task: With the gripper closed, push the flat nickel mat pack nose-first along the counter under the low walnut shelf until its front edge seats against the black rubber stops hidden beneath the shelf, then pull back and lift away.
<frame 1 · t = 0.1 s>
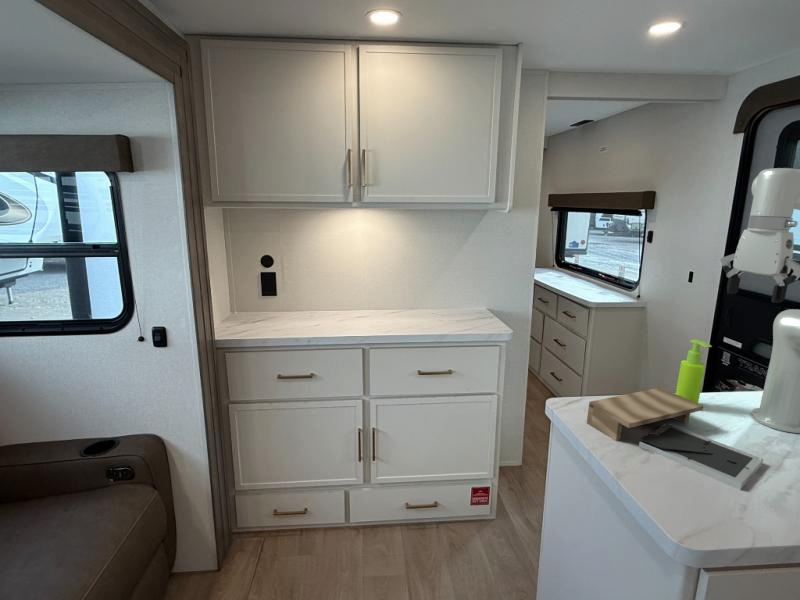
hand: (753, 297, 107), 37 cm above the counter, tool pointing down, fingers open, 9 cm apart
soap dispenser: (686, 406, 134), on the counter
walnut shelf: (643, 425, 121), on the counter
picture frame: (698, 458, 108), on the counter
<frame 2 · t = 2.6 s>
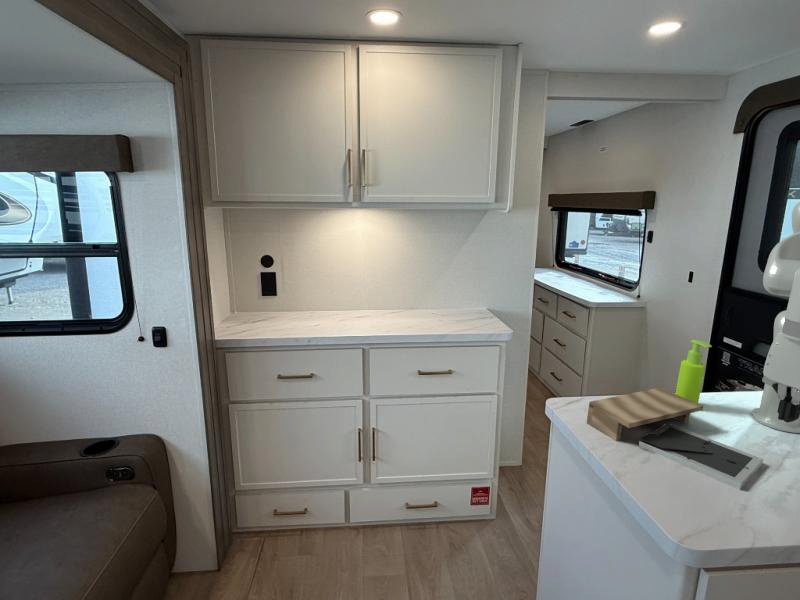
hand: (786, 419, 90), 17 cm above the counter, tool pointing down, fingers closed
nothing on the counter moved.
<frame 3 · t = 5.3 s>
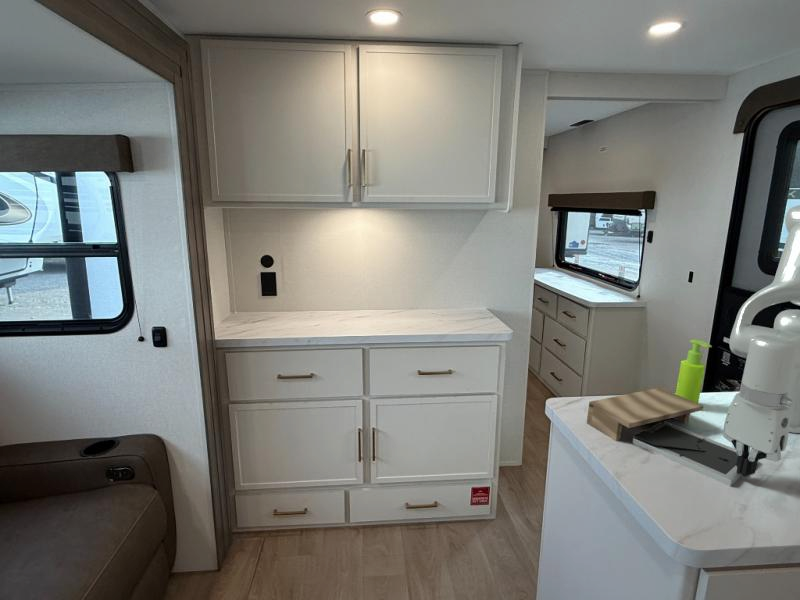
hand: (744, 473, 98), 1 cm above the counter, tool pointing down, fingers closed
picture frame: (691, 455, 109), on the counter, touching gripper
everything else where it was.
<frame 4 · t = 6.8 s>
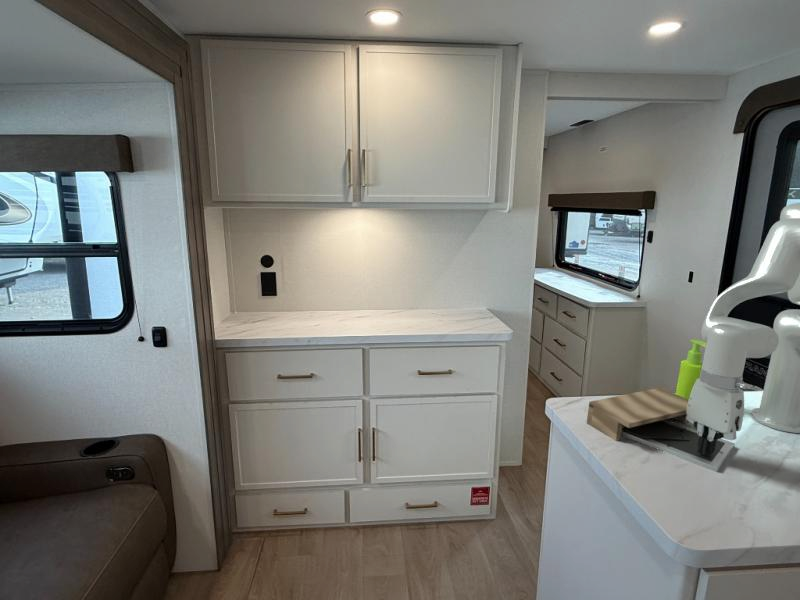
hand: (705, 452, 106), 1 cm above the counter, tool pointing down, fingers closed
picture frame: (675, 445, 114), on the counter
everything else where it was.
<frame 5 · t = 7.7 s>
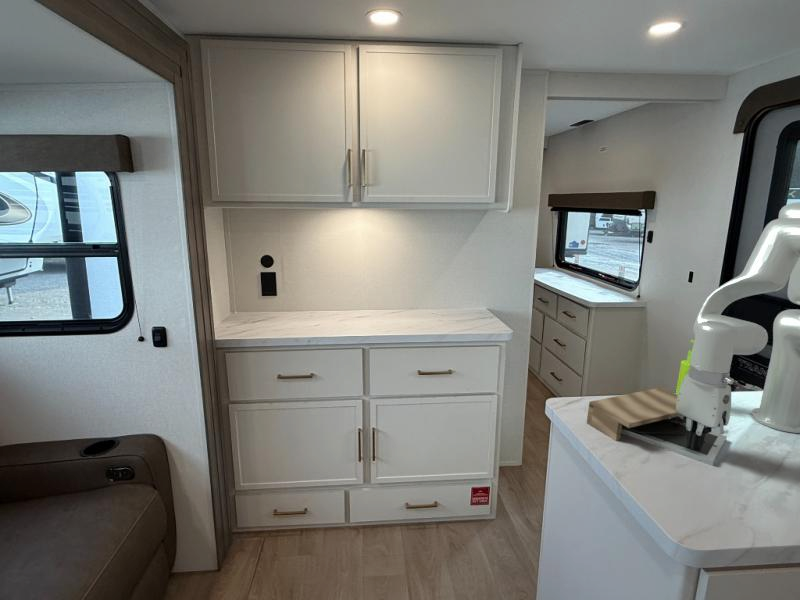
hand: (693, 446, 108), 1 cm above the counter, tool pointing down, fingers closed
picture frame: (670, 440, 116), on the counter, touching gripper
everything else where it was.
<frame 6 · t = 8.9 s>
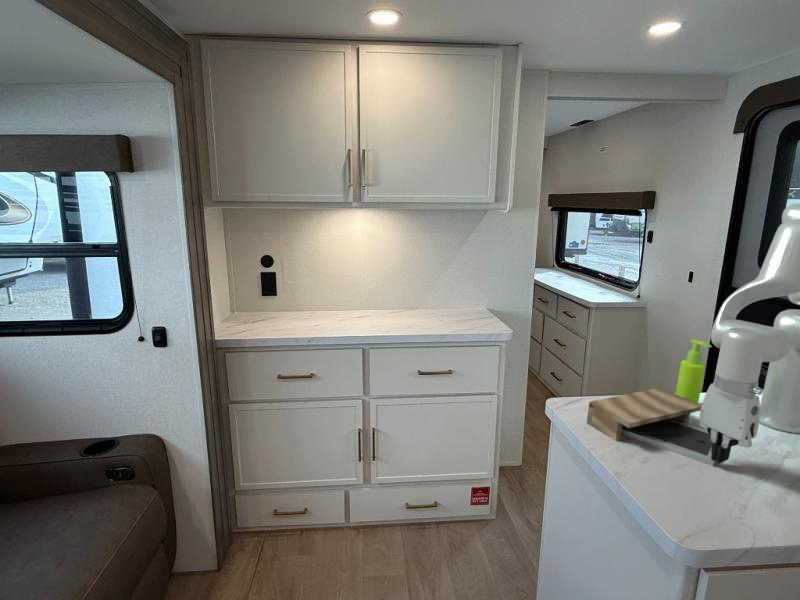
hand: (718, 459, 103), 1 cm above the counter, tool pointing down, fingers closed
picture frame: (670, 440, 116), on the counter
everything else where it was.
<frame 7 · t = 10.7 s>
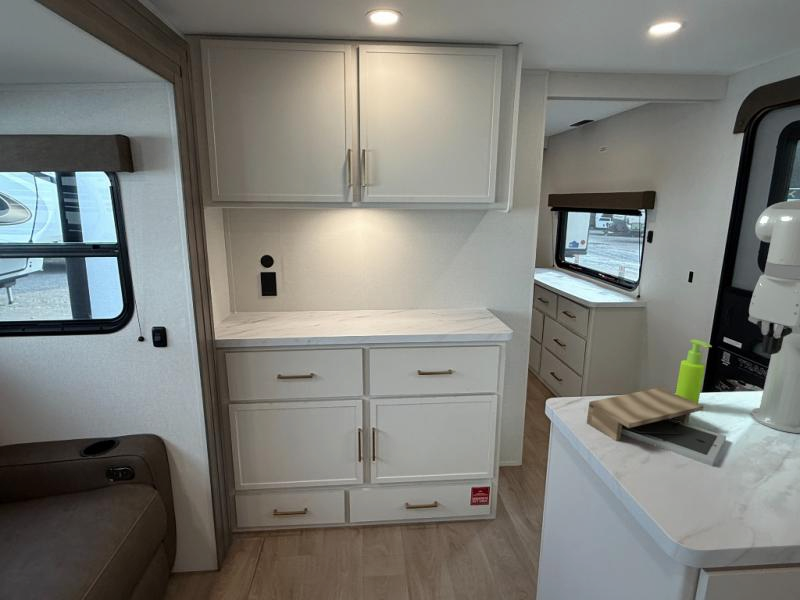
hand: (770, 352, 101), 26 cm above the counter, tool pointing down, fingers closed
nothing on the counter moved.
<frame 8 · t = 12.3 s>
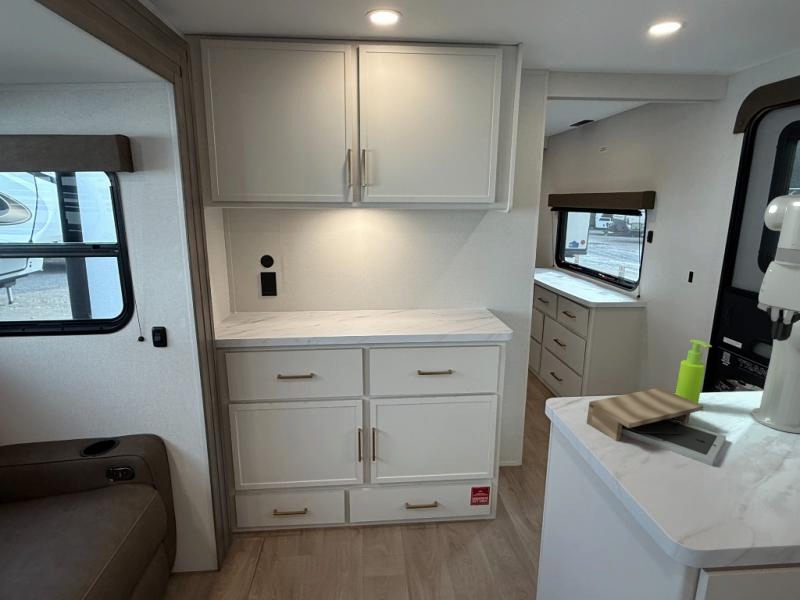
hand: (779, 339, 101), 29 cm above the counter, tool pointing down, fingers closed
nothing on the counter moved.
at the end: picture frame 2.6 cm from the target spot, on the counter; picture frame moved 8.7 cm from its start; the gripper is holding nothing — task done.
